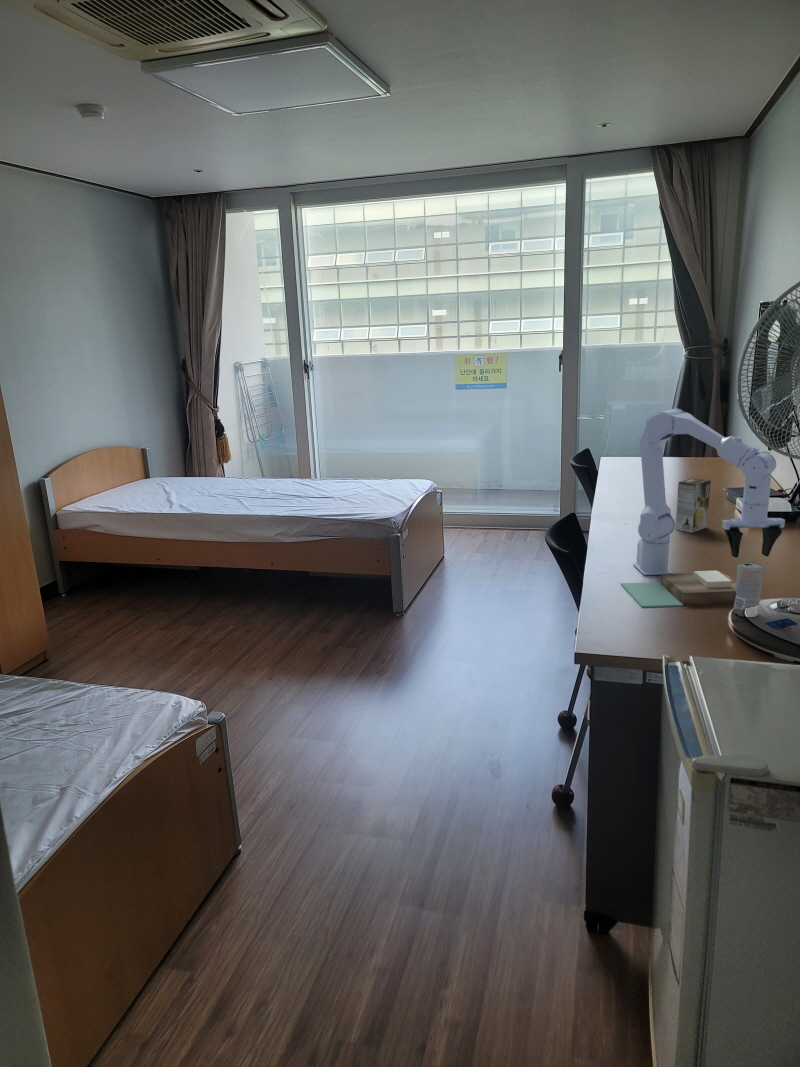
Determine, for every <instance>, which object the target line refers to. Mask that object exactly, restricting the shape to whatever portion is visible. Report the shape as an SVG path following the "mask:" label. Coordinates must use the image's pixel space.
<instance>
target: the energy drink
mask: <svg viewBox="0 0 800 1067" xmlns="http://www.w3.org/2000/svg"><path fill="white" fill-rule="evenodd" d="M763 575H764V568H763V565H762V563H758V562H753V561H741V562H739V563H738V566H737V569H736V580H735V581H736V587H735V596H734V603H733V606H732V610H733V609H740V610H743V609H746V608H750V607H755V606H757V605H759V606H760V601H761V593H762V592H761V591H762V584H763V578H764V577H763Z"/></svg>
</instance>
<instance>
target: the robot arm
mask: <svg viewBox="0 0 800 1067" xmlns="http://www.w3.org/2000/svg"><path fill="white" fill-rule="evenodd" d="M645 425H646V426H645V428H644V430H643V433H642V435H641V438H640V441H639V445H640V447H639V448H640V458H641V460H640V461H641V471H642V473H641V474H642V484H643V485H642V486H643V496H644V497H643V498H644V507H643V509H642V511H641V513H640V515H639V516H640V517H639V518H640V522H639V524H638V526H637V532H638V534H639V537H640V538H639V540H638V542H637V546H636V548H637V549H636V562H633V563H632V565H633V566H634V567H635V568H636V569H637V570H638V571H639V572H640V573H641V574H642V575H643V576H658V575H659V576H662V574H673V573H674V572H673V571H671V569H670V568H668V567H669V565H668V564H669V556H670V555H669V553H670V541H671V539H670V538H671V534H672V533H673V532H674V530H676V529H675V526H676V520H675V519H674V517H673V516H672V510H671V508H670V507H669V506H668V504H667V499H666V485H665V484H666V483H665V473H664V472H665V471H664V456H663V445H665V444H666V443H667V442H668V441H669V439H670V438H671V437H673V436H675V435H689V436H691V437H693V438H695V439H697V440H699V441H701V442H703V443H705V444H706V445H708V446H711V447H713V449H715V450H716V452H717V456H718V457H720V458H721V459H723V460H725V461H726V462H728V463H729V464H731V465H733V466H735V467H736V468H738V469H739V470H741V471H742V473H743V475H744V478H745V479H744V484H743V494H742V495H743V496H742V502H741V503H742V506H741V513H740V514H741V516H740V517H739V518H732V519H723V520H722V524H721V525H722V526H721V528H722V529H723V530H724V533H725V534H726V537H727V540H728V542H729V546H730V547H729V548H730V552H731V553H730V554H731V557H734V558H737V559H738V558H739V554H740V546H741V541H742V537H743V535H744V533H743V532H742V531H741V529H755V528H756V529H757V528H761V530H762V544H761V555H762V556H764V557H769V556H770V554H771V552H772V548H773V546H774V544H775V543H776V541H777V540H778V539H779V537H780V536H782V532H783V529H781V528H785V526H786V525H785V523H786V519H784V518H782V517H768V512H769V502H770V496H771V495H770V494H771V483H772V482H771V481H772V473H773V472H774V471H775V469H776V468H777V460H776V458H775V457H774V455H772V454H771V453H770V452H769V451H760V448H758V447H752V446H750V445H749V444H748V443H745V442H744V441H742V440H743V438H742V437H741V436H736V437H735V436H733V435H730V436H726V437H725V436H723V435H722V434H721V433H719V432H717V431H716V430H714V429H712V428H711V427H710V426H708V425H707V424H705V423H704V422H702V421H700V420H699V419H697V418H696V417H695V416H694V415H692V414H691V413H689V412H685V411H684V410H682V409H681V408H671V409H668V410H663V411H657V412H655V413H653V414H652V415H651V416H649V418H648V419H647V420H646V421H645Z"/></svg>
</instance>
